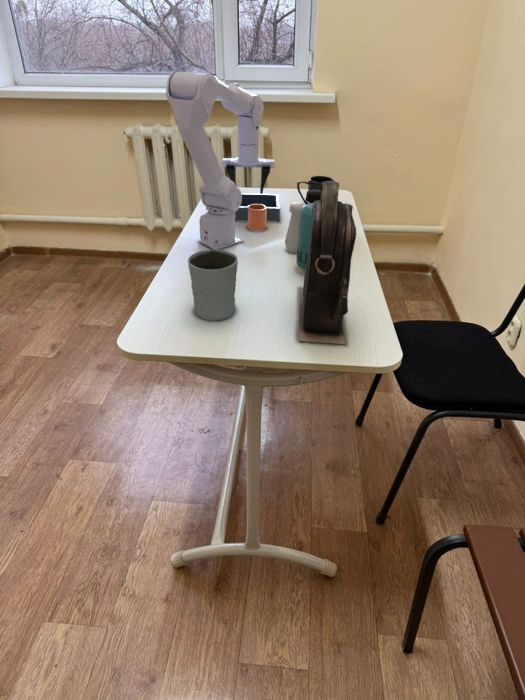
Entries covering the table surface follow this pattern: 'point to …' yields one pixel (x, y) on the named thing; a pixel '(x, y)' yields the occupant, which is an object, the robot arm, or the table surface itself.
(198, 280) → the grey plant pot
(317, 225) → the shoulder bag
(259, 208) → the cup
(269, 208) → the dark grey storage bin
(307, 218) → the beverage bottle
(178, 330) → the table surface
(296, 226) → the salt shaker
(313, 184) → the mug
